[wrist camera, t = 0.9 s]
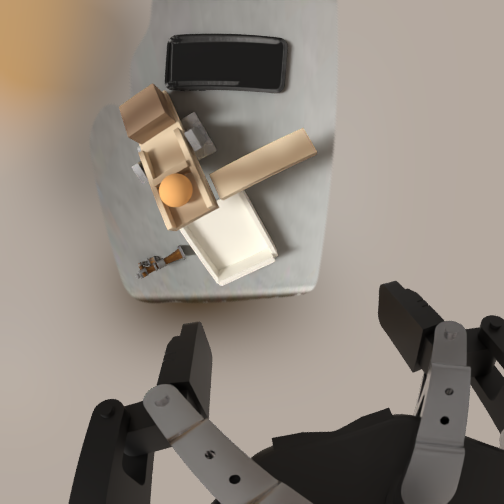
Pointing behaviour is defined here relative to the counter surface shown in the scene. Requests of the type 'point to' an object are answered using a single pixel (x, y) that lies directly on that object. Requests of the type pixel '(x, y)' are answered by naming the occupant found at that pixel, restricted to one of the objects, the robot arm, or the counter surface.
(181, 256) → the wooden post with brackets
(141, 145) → the lever
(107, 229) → the counter surface
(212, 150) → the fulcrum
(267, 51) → the phone
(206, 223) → the tray
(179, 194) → the ball
